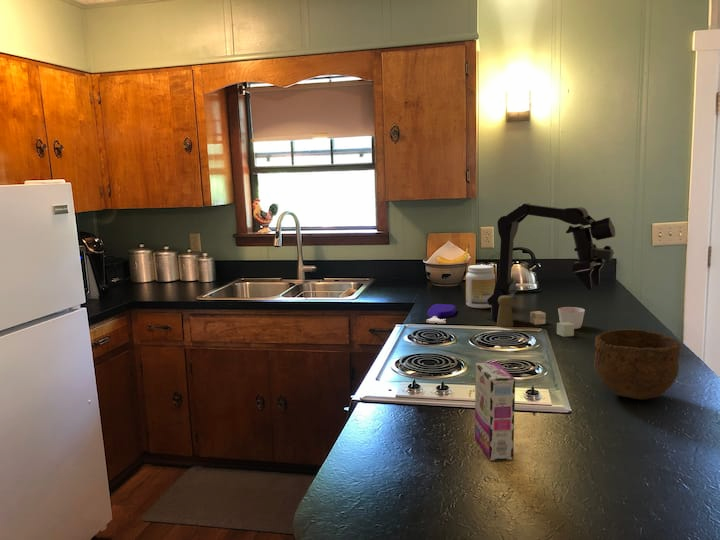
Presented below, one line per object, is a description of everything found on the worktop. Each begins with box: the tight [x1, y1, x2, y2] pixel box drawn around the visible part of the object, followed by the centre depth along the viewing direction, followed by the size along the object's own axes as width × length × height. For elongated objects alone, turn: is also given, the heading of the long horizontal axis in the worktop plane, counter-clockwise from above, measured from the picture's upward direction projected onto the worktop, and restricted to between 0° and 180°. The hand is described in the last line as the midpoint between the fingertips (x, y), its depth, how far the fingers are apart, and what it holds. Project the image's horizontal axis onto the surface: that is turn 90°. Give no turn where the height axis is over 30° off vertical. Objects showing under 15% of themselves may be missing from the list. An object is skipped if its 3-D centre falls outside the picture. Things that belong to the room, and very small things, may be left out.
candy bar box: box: [474, 361, 516, 462], centre depth 118 cm, size 11×5×16 cm, turn 5°
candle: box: [557, 306, 586, 330], centre depth 213 cm, size 9×9×6 cm
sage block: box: [556, 321, 575, 337], centre depth 203 cm, size 4×4×4 cm
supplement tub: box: [465, 264, 496, 309], centre depth 251 cm, size 12×12×17 cm
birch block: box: [529, 310, 547, 326], centre depth 220 cm, size 4×4×4 cm
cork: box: [496, 295, 514, 328], centre depth 217 cm, size 6×6×11 cm
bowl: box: [593, 328, 682, 401], centre depth 144 cm, size 19×19×15 cm
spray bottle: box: [425, 303, 457, 325], centre depth 234 cm, size 3×11×24 cm
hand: (594, 287), depth 204 cm, fingers open, 9 cm apart
